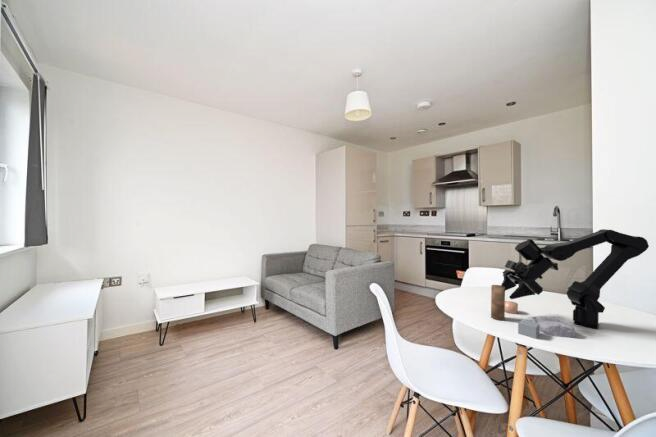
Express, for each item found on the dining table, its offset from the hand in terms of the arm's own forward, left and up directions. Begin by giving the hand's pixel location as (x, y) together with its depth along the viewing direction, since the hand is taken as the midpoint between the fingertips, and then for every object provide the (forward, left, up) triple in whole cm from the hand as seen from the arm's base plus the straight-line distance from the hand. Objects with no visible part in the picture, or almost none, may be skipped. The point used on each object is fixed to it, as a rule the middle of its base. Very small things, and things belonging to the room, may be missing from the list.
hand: (504, 294), depth 106 cm
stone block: (-14, -1, -10) cm, 17 cm away
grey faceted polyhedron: (-10, +9, -10) cm, 17 cm away
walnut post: (+2, +1, -10) cm, 10 cm away
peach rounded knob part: (+1, -12, -10) cm, 15 cm away
